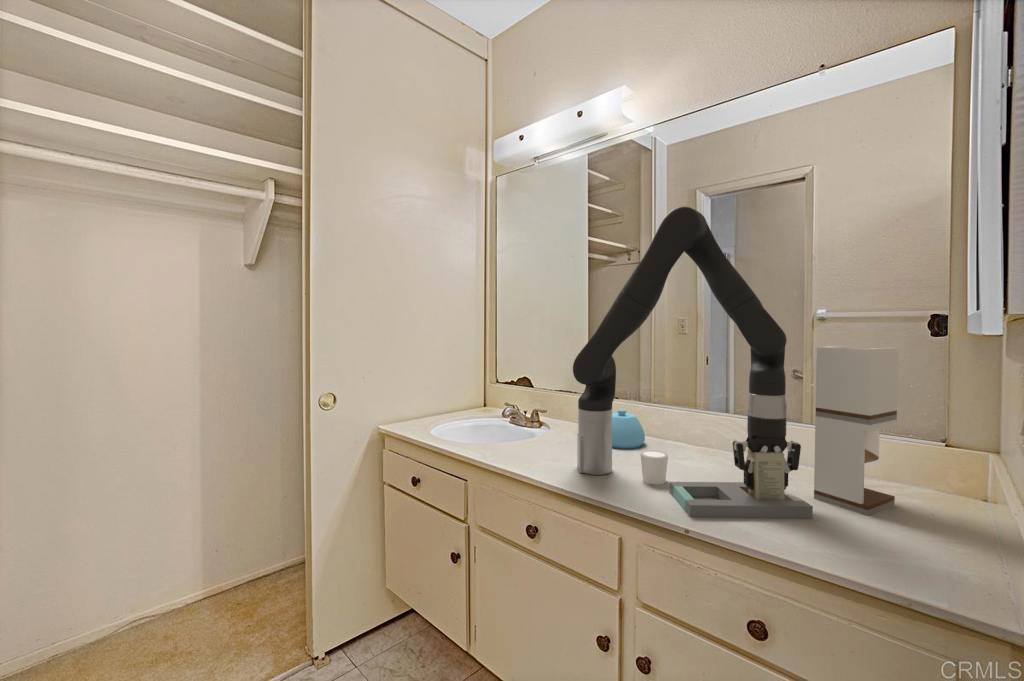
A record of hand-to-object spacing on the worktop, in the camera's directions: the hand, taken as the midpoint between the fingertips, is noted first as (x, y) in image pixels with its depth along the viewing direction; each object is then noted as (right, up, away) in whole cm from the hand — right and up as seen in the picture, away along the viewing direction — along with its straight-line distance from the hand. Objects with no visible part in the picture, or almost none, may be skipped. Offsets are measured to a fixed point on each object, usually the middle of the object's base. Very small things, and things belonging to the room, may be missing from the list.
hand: (765, 487), depth 100 cm
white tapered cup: (-20, -4, +16) cm, 26 cm away
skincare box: (0, -4, 0) cm, 4 cm away
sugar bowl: (-19, -2, +52) cm, 56 cm away
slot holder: (-7, -4, 0) cm, 8 cm away
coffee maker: (+21, -4, +1) cm, 21 cm away
